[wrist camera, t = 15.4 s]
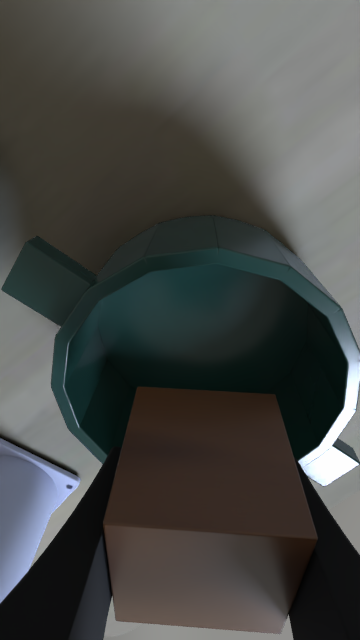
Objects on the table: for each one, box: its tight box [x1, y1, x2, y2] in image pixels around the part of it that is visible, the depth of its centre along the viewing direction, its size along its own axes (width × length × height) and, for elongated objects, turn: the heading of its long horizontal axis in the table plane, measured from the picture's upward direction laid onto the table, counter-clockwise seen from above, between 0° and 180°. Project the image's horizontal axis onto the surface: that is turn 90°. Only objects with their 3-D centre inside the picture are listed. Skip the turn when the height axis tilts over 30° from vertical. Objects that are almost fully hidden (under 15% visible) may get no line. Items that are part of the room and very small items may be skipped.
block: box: [103, 387, 318, 634], centre depth 10 cm, size 5×5×5 cm
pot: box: [1, 215, 360, 487], centre depth 17 cm, size 13×18×6 cm
